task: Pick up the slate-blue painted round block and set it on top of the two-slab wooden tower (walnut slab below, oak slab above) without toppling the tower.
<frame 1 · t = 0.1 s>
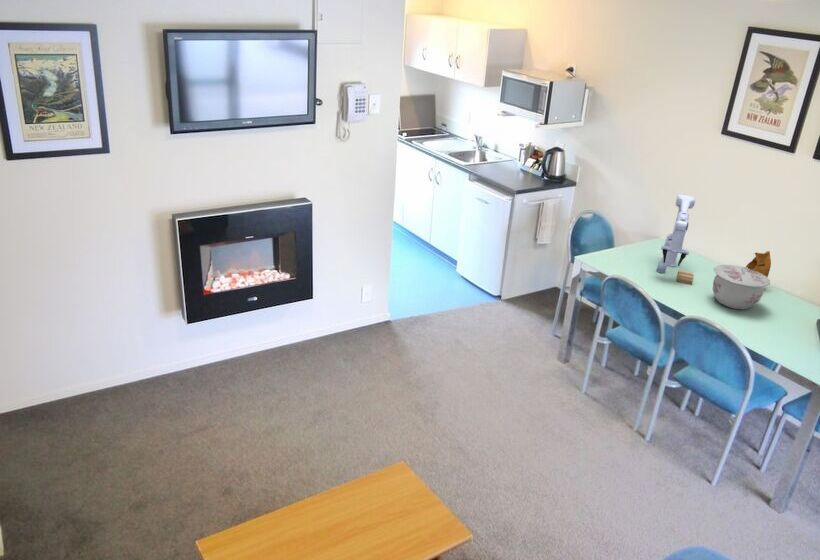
hand: (671, 263, 373), 10 cm above the table, fingers open, 7 cm apart
chamber pot: (733, 303, 356), on the table
oak slab: (684, 277, 378), point 2 cm above the table, touching walnut slab
round block: (660, 271, 388), on the table
walnut slab: (683, 281, 379), on the table, touching oak slab
coffee package: (750, 288, 378), on the table
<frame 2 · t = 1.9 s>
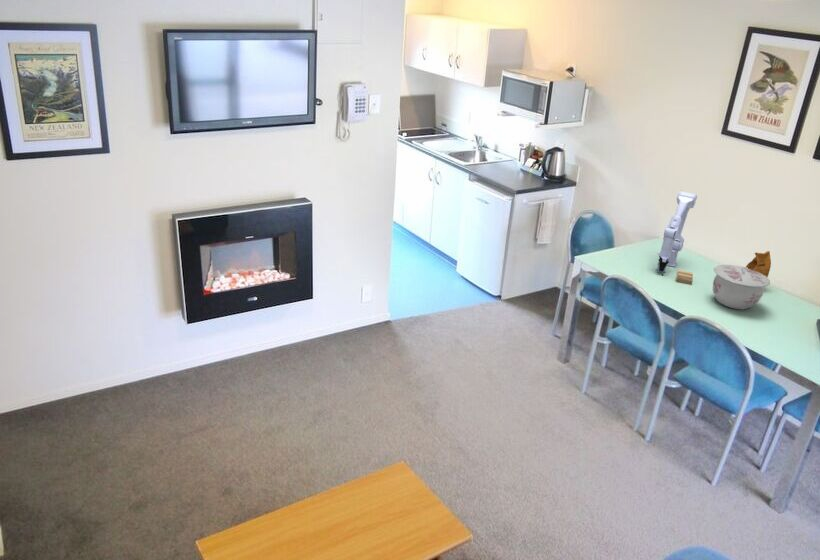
hand: (661, 269, 388), 1 cm above the table, fingers closed on round block, 5 cm apart
round block: (660, 271, 388), on the table, touching gripper
everything else where it was.
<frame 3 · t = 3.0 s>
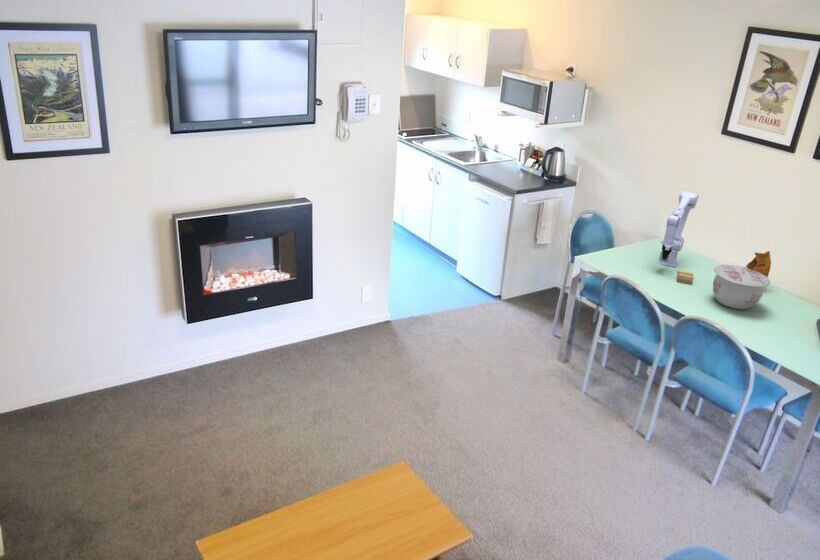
hand: (664, 257, 385), 9 cm above the table, fingers closed on round block, 5 cm apart
round block: (663, 260, 385), point 7 cm above the table, touching gripper
everything else where it was.
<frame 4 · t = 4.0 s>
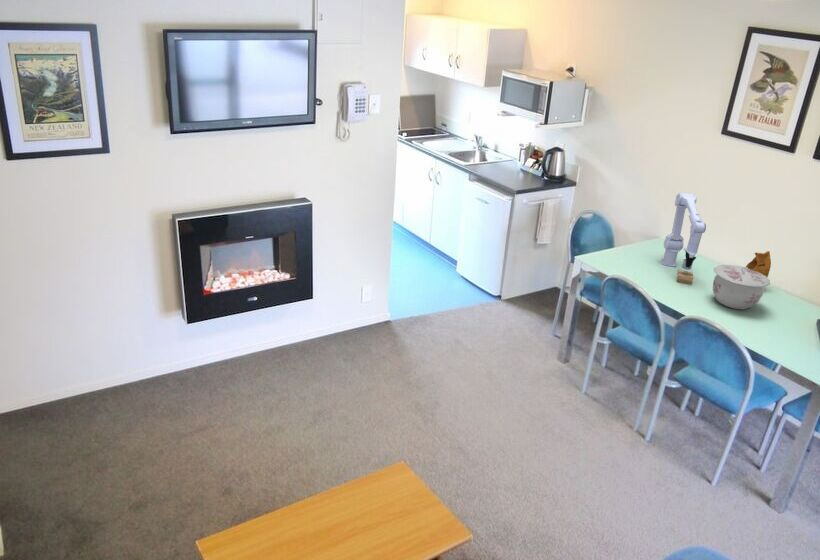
hand: (687, 265, 375), 9 cm above the table, fingers closed on round block, 5 cm apart
round block: (686, 267, 376), point 8 cm above the table, touching gripper
everything else where it was.
when the fingers open (7 cm above the table, at t = 5.0 s): round block drops 1 cm, point 4 cm above the table.
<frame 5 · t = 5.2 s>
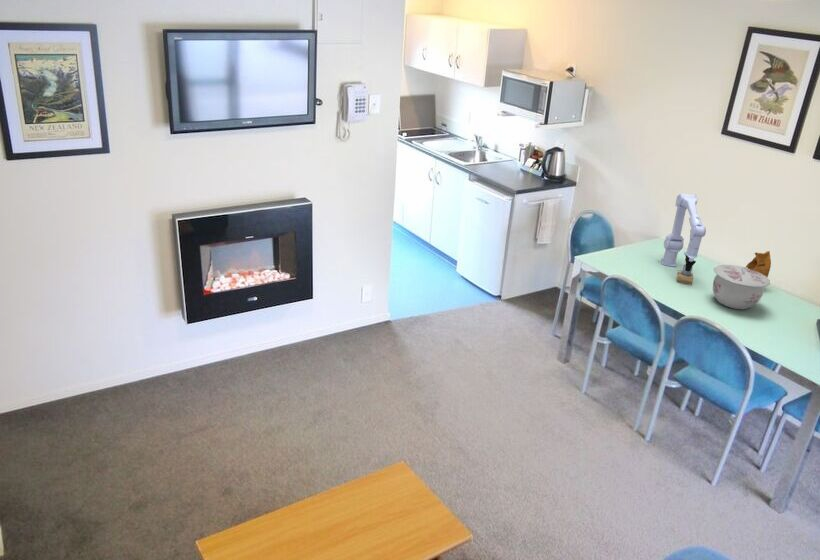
hand: (687, 268, 375), 7 cm above the table, fingers open, 6 cm apart
round block: (685, 273, 377), point 4 cm above the table
everything else where it was.
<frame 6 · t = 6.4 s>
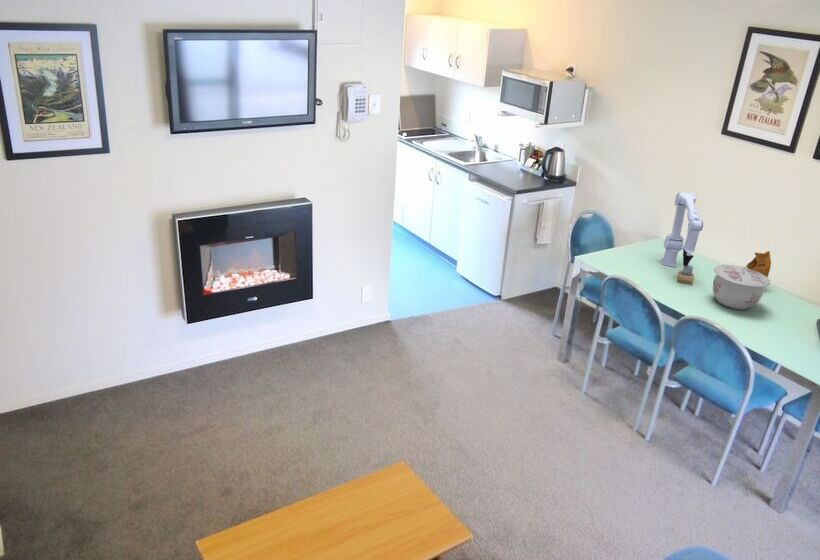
hand: (684, 263, 375), 10 cm above the table, fingers open, 7 cm apart
nothing on the table moved.
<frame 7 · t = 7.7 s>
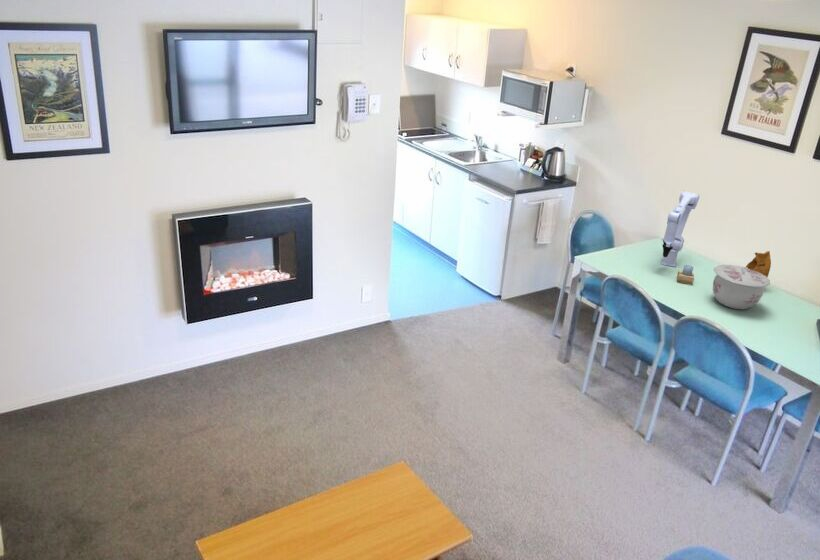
hand: (664, 254, 385), 10 cm above the table, fingers open, 7 cm apart
nothing on the table moved.
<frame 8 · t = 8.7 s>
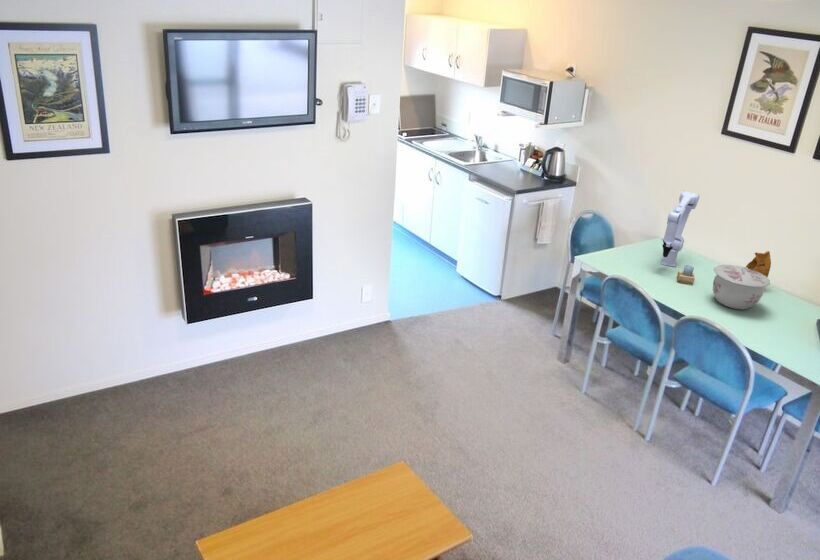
hand: (664, 254, 385), 10 cm above the table, fingers open, 7 cm apart
nothing on the table moved.
at the end: round block 0.3 cm off-centre on the oak slab, point 2.5 cm above the oak slab's base; round block tilted 0°; oak slab moved 0.8 cm from its start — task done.
